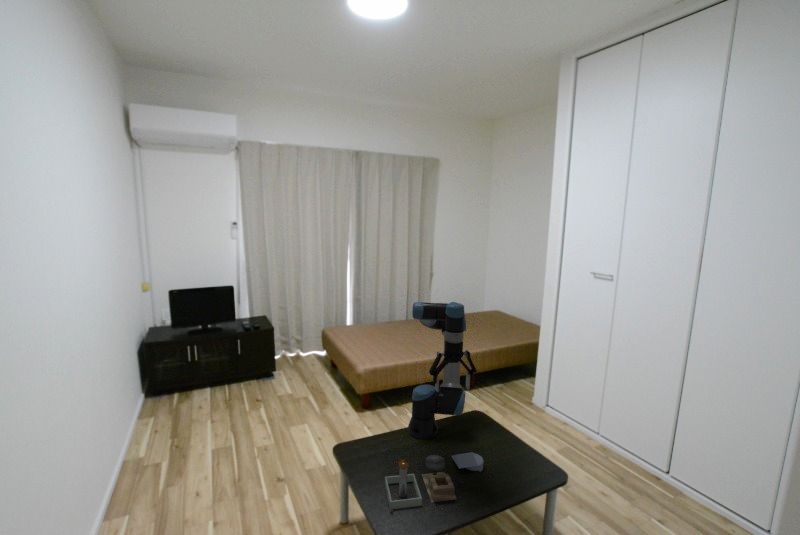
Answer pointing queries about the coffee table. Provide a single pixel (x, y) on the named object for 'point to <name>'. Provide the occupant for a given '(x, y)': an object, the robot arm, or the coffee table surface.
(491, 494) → the coffee table surface
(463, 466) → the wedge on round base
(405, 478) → the lock pin
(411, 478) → the tray
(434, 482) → the block
